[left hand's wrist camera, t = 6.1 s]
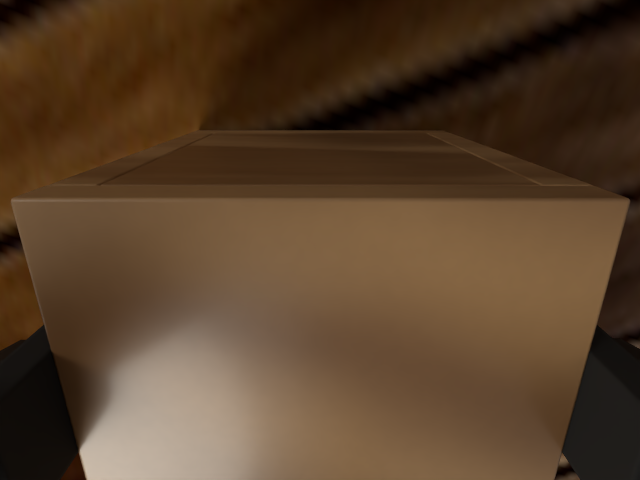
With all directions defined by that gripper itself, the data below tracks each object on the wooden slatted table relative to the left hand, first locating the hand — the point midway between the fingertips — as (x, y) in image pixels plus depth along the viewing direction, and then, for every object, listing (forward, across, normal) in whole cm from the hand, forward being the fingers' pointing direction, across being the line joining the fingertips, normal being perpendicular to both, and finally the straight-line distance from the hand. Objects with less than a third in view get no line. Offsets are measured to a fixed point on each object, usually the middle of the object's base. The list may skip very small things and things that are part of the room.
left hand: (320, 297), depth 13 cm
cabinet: (+7, 0, -5) cm, 9 cm away
